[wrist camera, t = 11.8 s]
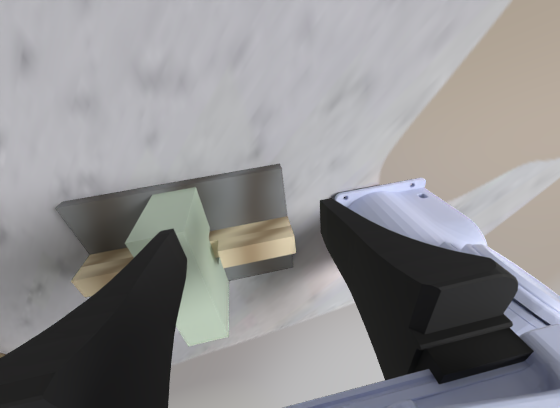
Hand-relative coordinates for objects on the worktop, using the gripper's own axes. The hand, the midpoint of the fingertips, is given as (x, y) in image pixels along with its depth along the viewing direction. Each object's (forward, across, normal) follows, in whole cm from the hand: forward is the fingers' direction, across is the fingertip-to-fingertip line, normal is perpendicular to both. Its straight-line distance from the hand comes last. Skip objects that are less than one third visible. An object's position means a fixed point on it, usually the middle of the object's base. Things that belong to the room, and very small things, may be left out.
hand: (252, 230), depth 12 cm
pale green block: (+9, +6, +7) cm, 13 cm away
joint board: (+10, +6, +7) cm, 14 cm away
